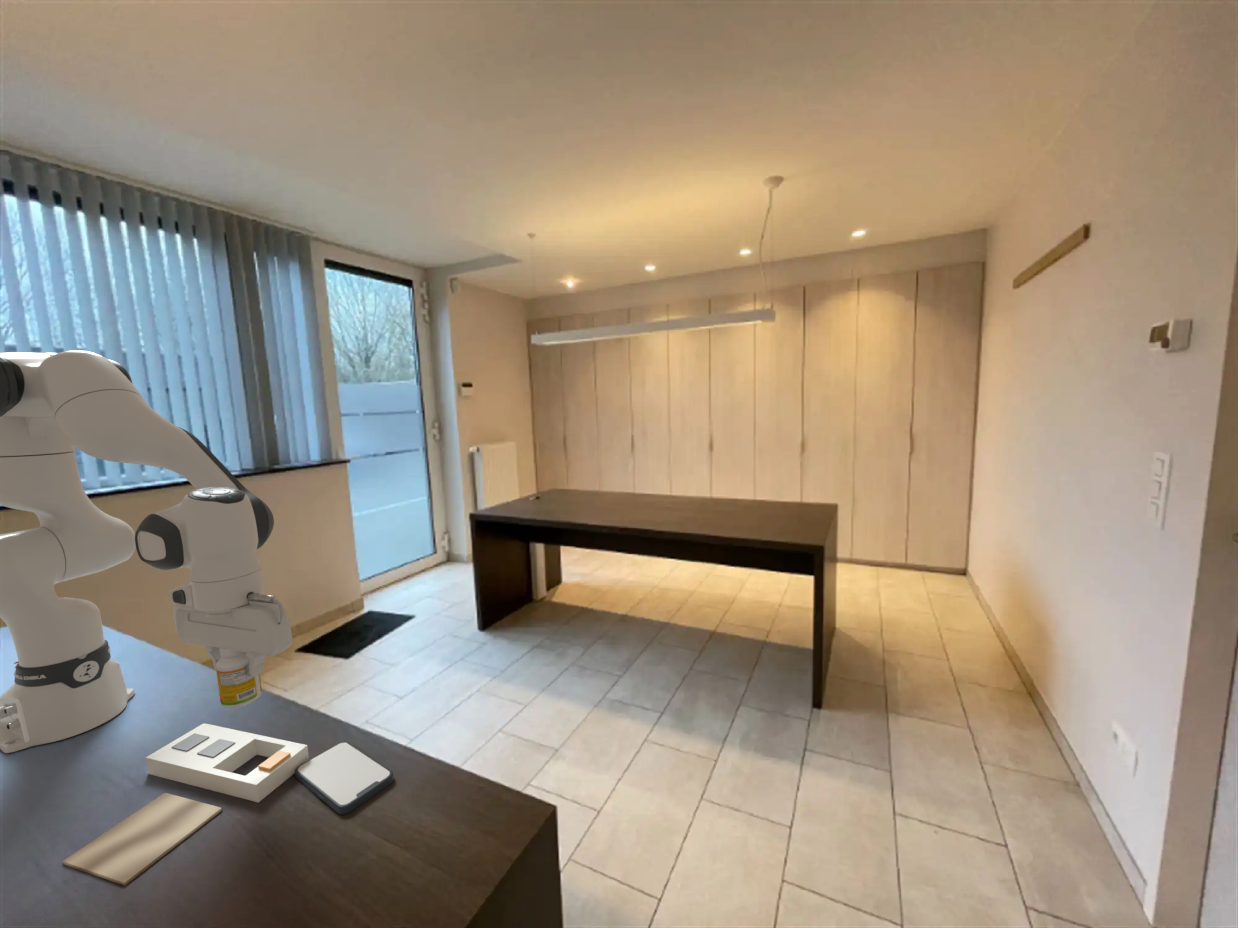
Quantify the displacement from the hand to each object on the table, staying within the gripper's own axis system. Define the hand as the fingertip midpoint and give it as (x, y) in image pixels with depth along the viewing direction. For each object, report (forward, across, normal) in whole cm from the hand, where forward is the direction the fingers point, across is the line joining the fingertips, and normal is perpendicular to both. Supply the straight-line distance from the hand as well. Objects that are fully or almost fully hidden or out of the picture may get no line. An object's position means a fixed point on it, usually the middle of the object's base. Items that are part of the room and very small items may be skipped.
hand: (238, 671), depth 79 cm
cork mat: (+18, +3, +13) cm, 22 cm away
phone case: (+18, -16, -3) cm, 25 cm away
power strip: (+18, +5, 0) cm, 19 cm away
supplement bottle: (+5, 0, 0) cm, 5 cm away
